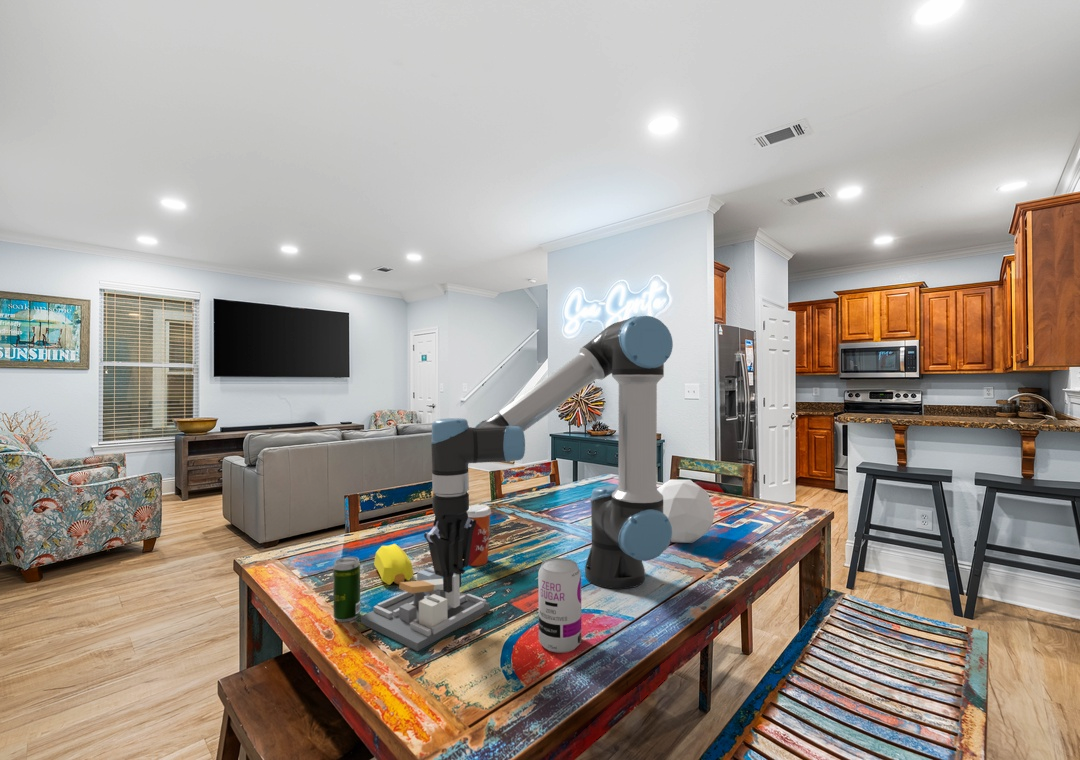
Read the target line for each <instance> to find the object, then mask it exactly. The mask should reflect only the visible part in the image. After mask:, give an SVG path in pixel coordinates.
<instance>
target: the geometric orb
mask: <svg viewBox="0 0 1080 760" xmlns="http://www.w3.org/2000/svg"><path fill="white" fill-rule="evenodd" d="M657 490H658V491H659V492H660V493H661V494H662V495H663V514H665V515H666V516H667V518H668V520H669V521H670V523H671V526H672V538H671V541H670V543H685V544H686V543H689V544H693V543H694V542H696V541H697V540H699V539H700V538H702V537H703V536H705V535H706V534H707V533H709V532H710V530H711V528H712V525H713V524H714V518H715V509H714V507H713V503H712V501H711V498H710V496H709V493H708V491H706V490H705V489H704V488H703V487H701V486H700V485H698V484H697V483H696V482H693V481H692V479H673V478H672V479H669V480H667V481H666V482H664V484H662V485H660V486H659V487H657Z"/></svg>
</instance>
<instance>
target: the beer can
mask: <svg viewBox="0 0 1080 760" xmlns="http://www.w3.org/2000/svg"><path fill="white" fill-rule="evenodd" d="M332 571H333V572H332V573H333V574H332V575H333V578H332V580H333V582H332V583H333V589H332V590H333V592H332V593H333V600H332V601H333V617H334V620H335V621H336V622H338V623H347V622H348V623H349V622H352V621H354V620H356V619H357V618H359V616H360V614H361V609H362V608H361V563H360V558H359V557H357V556H346V557H345V556H344V557H342V558H341V557H340V558H338V559H336V560H334V565H333V568H332Z"/></svg>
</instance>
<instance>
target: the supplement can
mask: <svg viewBox="0 0 1080 760" xmlns="http://www.w3.org/2000/svg"><path fill="white" fill-rule="evenodd" d="M537 574H538V580H537V581H538V588H537V589H538V642H539V643H540V645H541V646H543V648H544V649H545V650H547V651H549V652H553V653H556V654H557V653H559V654H562V653H563V654H564V653H570V652H572V651H574V650H575V649H576V648H578V646H579V645H581V642H582V573H581V570H580V567H579V565H578V563H577V562H576V561H574V560H572V559H569V558H561V557H560V558H559V557H558V558H557V557H555V558H550V559H545V560H544V561H542V562H541V566H540V568H539V570H538V573H537Z"/></svg>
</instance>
